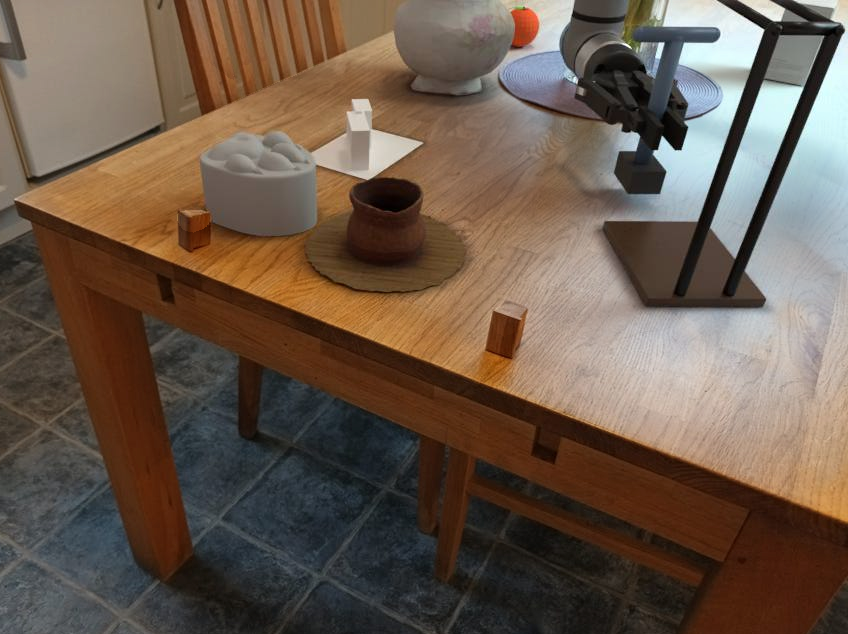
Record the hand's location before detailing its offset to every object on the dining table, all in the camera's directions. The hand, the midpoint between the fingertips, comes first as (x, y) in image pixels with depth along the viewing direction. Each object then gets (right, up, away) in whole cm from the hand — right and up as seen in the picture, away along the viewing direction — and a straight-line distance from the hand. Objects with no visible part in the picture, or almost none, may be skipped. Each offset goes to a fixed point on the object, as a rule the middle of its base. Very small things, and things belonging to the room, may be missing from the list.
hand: (669, 138), depth 80 cm
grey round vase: (-19, +23, +43) cm, 52 cm away
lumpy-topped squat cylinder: (-46, -7, +5) cm, 47 cm away
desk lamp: (0, -14, -1) cm, 14 cm away
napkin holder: (-34, +4, +20) cm, 40 cm away
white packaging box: (+41, +26, +49) cm, 69 cm away
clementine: (-5, +37, +61) cm, 71 cm away
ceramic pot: (-32, -13, 0) cm, 34 cm away
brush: (0, -3, +9) cm, 10 cm away
